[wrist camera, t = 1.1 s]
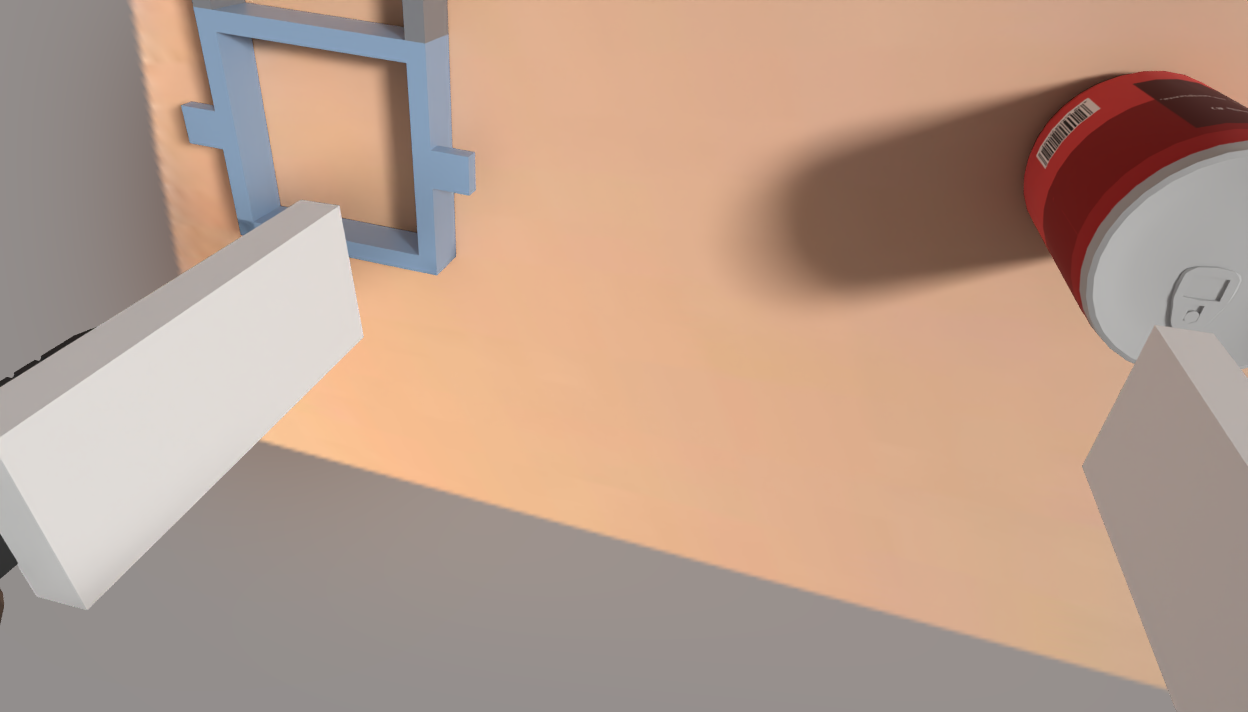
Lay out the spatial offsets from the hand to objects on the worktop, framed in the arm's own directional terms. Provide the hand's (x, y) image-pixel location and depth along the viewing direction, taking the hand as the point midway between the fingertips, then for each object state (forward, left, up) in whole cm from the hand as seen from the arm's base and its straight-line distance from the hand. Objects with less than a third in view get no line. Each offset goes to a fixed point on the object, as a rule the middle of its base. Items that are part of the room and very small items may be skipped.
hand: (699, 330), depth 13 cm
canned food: (+3, +15, -25) cm, 30 cm away
